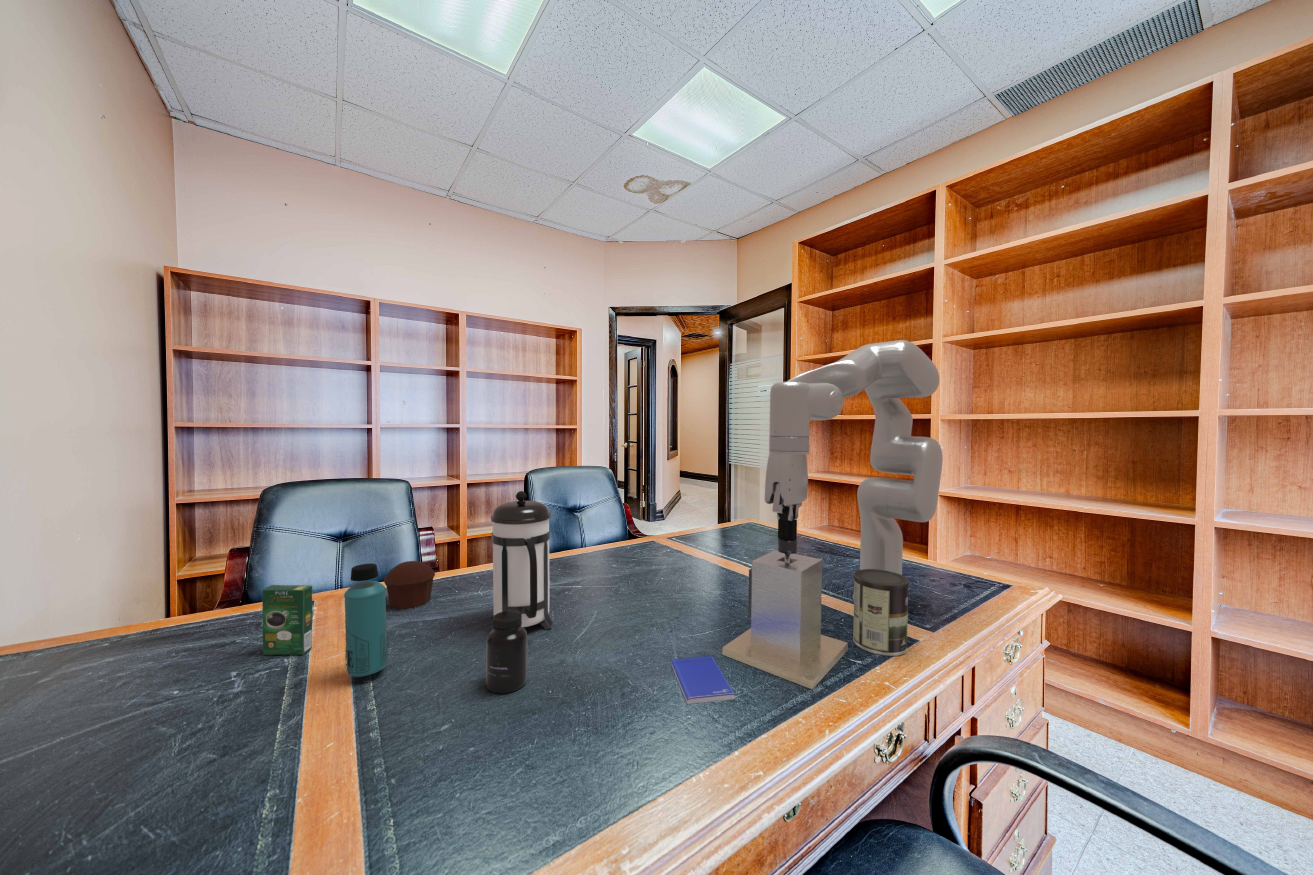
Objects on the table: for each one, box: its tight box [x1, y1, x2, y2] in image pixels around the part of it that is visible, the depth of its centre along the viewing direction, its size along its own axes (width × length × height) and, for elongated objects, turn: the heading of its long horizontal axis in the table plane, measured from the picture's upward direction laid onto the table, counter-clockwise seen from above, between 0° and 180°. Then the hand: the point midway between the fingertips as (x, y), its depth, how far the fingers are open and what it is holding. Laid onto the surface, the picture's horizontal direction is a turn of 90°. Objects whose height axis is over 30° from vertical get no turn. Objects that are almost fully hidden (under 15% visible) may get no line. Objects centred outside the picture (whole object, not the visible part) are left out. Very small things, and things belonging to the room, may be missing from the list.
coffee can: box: [852, 569, 910, 657], centre depth 96 cm, size 10×10×14 cm
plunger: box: [777, 537, 798, 563], centre depth 92 cm, size 7×7×16 cm
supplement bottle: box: [485, 611, 528, 695], centre depth 81 cm, size 7×7×12 cm
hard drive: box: [670, 656, 736, 705], centre depth 83 cm, size 2×8×12 cm
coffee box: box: [261, 584, 313, 656], centre depth 92 cm, size 8×3×13 cm, turn 92°
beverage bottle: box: [343, 563, 389, 678], centre depth 83 cm, size 6×7×20 cm
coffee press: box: [490, 490, 554, 631], centre depth 103 cm, size 17×16×30 cm
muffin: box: [383, 560, 436, 610], centre depth 117 cm, size 12×11×10 cm
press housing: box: [722, 549, 849, 690], centre depth 92 cm, size 18×18×18 cm
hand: (787, 539), depth 92 cm, fingers closed
